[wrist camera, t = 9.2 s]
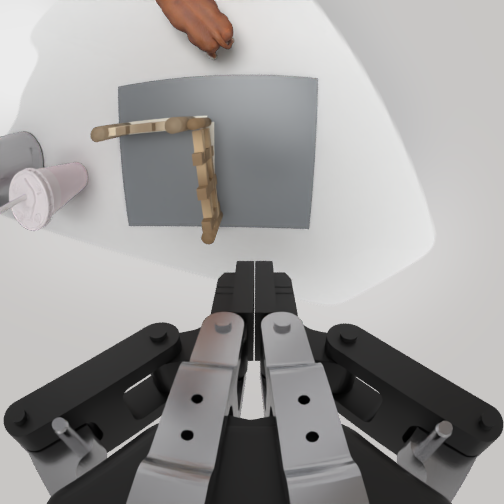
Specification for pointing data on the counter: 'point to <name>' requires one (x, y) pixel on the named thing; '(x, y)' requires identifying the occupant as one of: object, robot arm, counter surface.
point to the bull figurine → (200, 23)
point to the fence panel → (205, 178)
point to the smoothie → (43, 192)
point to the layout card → (222, 150)
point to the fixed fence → (140, 128)
